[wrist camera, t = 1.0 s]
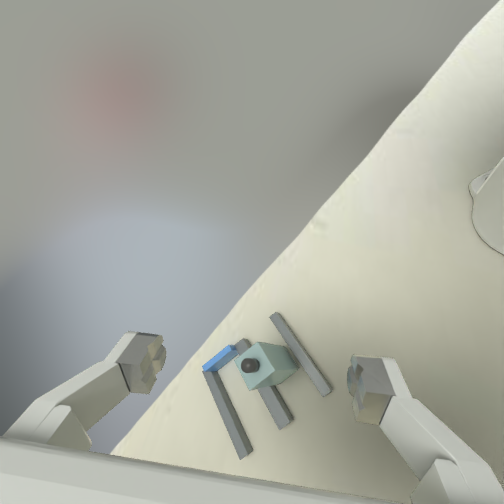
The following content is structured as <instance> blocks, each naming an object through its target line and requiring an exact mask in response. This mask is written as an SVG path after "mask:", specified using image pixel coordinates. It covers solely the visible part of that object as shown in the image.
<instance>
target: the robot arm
mask: <svg viewBox="0 0 504 504" xmlns="http://www.w3.org/2000/svg"><path fill="white" fill-rule="evenodd" d="M469 191H470V193H471V195H472V198H473V200H474V205H473V210H472V220H473V224H474V227H475V229H476V231H477V233H478V234H479V236H480V237H481V238H482V239H483V240H484V241H485V242H486V243H487V244H488V245H489V246H491V247H492V248H493V249H495V250H496V251H498V252H500V253H501V254H503V255H504V157H503V158H502V159H501V160H500V161H499V163H498V164H497V165H496V167H495V168H493V169H491V170H489V171H488V172H486V173H484V174H482V175H480V176H478V177H477V178H475V179H474V180H473V181H472V182H471V183H470V184H469ZM162 343H163V337H162V336H161V335H156V334H148V333H140V332H131V331H128V332H126V333H125V334H124V335H123V337H122V338H121V339H120V340H119V342H118V343H117V344H116V346H115V347H114V348H113V350H112V351H111V352H110V353H109V355H108V356H107V357H106V359H105V360H104V361H103V362H101V361H100V362H98V363H96V364H95V365H93V366H91V367H90V368H88V369H86V370H85V371H83V372H81V373H80V374H78V375H76V376H75V377H73V378H71V379H70V380H68V381H66V382H65V383H63V384H61V385H59V386H58V387H56V388H54V389H53V390H51V391H49V392H48V393H46V394H44V395H43V396H41V397H39V398H38V399H36V400H35V401H34V402H33V403H32V404H31V405H30V406H29V408H28V409H27V410H26V411H25V412H24V413H23V414H22V415H21V416H20V417H19V419H18V420H17V421H16V422H15V423H14V424H13V425H12V426H11V427H10V428H9V430H8V431H7V432H6V433H5V434H4V435H3V436H2V437H0V504H405V503H399V502H393V501H387V500H381V499H375V498H369V497H363V496H357V495H351V494H345V493H339V492H332V491H326V490H320V489H314V488H308V487H302V486H296V485H290V484H284V483H278V482H272V481H266V480H260V479H254V478H248V477H242V476H236V475H230V474H224V473H218V472H212V471H206V470H200V469H194V468H188V467H182V466H176V465H170V464H164V463H158V462H152V461H146V460H140V459H134V458H127V457H121V456H115V455H109V454H103V453H97V452H90V451H89V449H90V447H91V446H92V442H91V440H90V438H89V436H88V435H87V433H86V431H88V430H89V429H90V428H91V427H92V426H93V425H94V424H95V423H97V422H98V421H99V420H100V419H101V418H102V417H103V416H105V415H106V414H107V413H108V412H109V411H110V410H111V409H113V408H114V407H115V406H116V405H117V404H118V403H120V402H121V401H122V400H123V399H124V398H125V397H126V396H128V395H129V394H130V393H129V392H131V393H142V394H149V393H150V391H151V389H152V387H153V385H154V384H155V382H156V380H157V379H156V374H157V373H158V372H159V371H161V370H162V368H163V366H164V363H165V359H166V349H165V347H164V346H163V345H162ZM351 363H352V366H351V367H349V369H348V373H347V382H348V389H349V393H350V394H351V395H352V396H353V397H354V398H353V401H352V407H353V411H354V416H355V420H356V422H362V423H368V424H374V425H380V426H379V427H380V428H381V429H382V431H383V432H384V433H385V435H386V436H387V438H388V439H389V440H390V442H391V443H392V444H393V446H394V447H395V448H396V450H397V451H398V452H399V454H400V455H401V456H402V458H403V459H404V460H405V462H406V463H407V464H408V466H409V467H410V468H411V470H412V471H413V472H414V474H415V475H416V476H417V478H418V479H419V480H420V483H419V484H418V486H417V487H416V488H415V490H414V491H413V493H412V494H411V496H410V498H411V501H412V504H504V490H503V488H502V487H501V485H500V483H499V481H498V480H497V478H496V476H495V474H494V473H493V471H492V469H491V468H490V466H489V465H488V464H487V463H486V462H485V461H484V460H483V459H482V458H481V457H480V456H479V455H478V454H476V453H475V452H474V451H473V450H472V449H471V448H470V447H469V446H468V445H467V444H466V443H464V442H463V441H462V440H461V439H460V438H459V437H458V436H457V435H456V434H455V433H454V432H453V431H451V430H450V429H449V428H448V427H447V426H446V425H445V424H444V423H443V422H442V421H441V420H439V419H438V418H437V417H436V416H435V415H434V414H433V413H432V412H431V411H430V410H429V409H428V408H426V407H425V406H424V405H423V404H422V403H421V402H420V401H419V400H418V399H414V398H412V395H411V393H410V391H409V389H408V387H407V384H406V382H405V380H404V378H403V376H402V373H401V371H400V369H399V367H398V365H397V362H396V360H395V359H394V358H388V357H379V356H369V355H357V354H353V355H352V358H351Z"/></svg>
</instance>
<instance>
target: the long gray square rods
mask: <svg viewBox="0 0 504 504" xmlns="http://www.w3.org/2000/svg"><path fill="white" fill-rule="evenodd" d="M269 318H270V319H271V321H272V322H273V324H274V325H275V326H276V328H277V329H278V331H279V332H280V334H281V335H282V337H283V338H284V340H285V341H286V343H287V344H288V346H289V347H290V349H291V350H292V352H293V353H294V355H295V356H296V358H297V359H298V361H299V362H300V364H301V365H302V367H303V368H304V370H305V371H306V373H307V374H308V376H309V377H310V379H311V380H312V382H313V383H314V385H315V386H316V388H317V389H318V391H319V392H320V394H321V395H322V397H324V396H326V395H327V394H328V393H329V392H331V391H332V390H333V389H332V387H331V386H330V385H329V383H328V382H327V380H326V379H325V377H324V376H323V375H322V373H321V372H320V370H319V369H318V368H317V366H316V365H315V363H314V362H313V360H312V359H311V358H310V356H309V355H308V353H307V352H306V350H305V349H304V348H303V346H302V345H301V343H300V342H299V341H298V339H297V338H296V336H295V335H294V333H293V332H292V331H291V329H290V328H289V326H288V325H287V324H286V322H285V321H284V319H283V318H282V316H281V315H280V314H279V313H277V312H275V313H274V314H272V315H271V316H270V317H269ZM250 347H252V346H251V344H250V343H249V341H248V339H242V340H240V341H239V342H238V343H237V344H235V345H228V346H227V347H225V348H224V349H223V350H222V351H220V352H219V353H218V354H217V355H216V356H214V357H213V358H212V359H211V360H209V361H208V362H207V363H206V364H204V365H203V366H202V367H203V371H202V372H203V374H204V377H205V379H206V381H207V384H208V386H209V388H210V391H211V393H212V395H213V398H214V400H215V402H216V405H217V407H218V409H219V412H220V414H221V417H222V419H223V421H224V424H225V426H226V428H227V431H228V433H229V435H230V438H231V440H232V442H233V445H234V447H235V449H236V452H237V454H238V456H239V459H240V460H241V459H242V458H244V457H245V456H246V455H248V454H249V453H250V452H252V451H253V448H252V446H251V444H250V442H249V440H248V438H247V435H246V433H245V431H244V429H243V427H242V425H241V422H240V420H239V418H238V416H237V414H236V412H235V409H234V407H233V405H232V403H231V401H230V399H229V396H228V394H227V392H226V390H225V388H224V386H223V383H222V381H221V379H220V377H219V375H218V372H217V371H218V370H219V369H220V368H221V367H223V366H224V365H225V364H226V363H228V362H229V361H230V360H231V359H233V358H234V357H235V356H236V355H238V354H239V355H242V354H243V353H244V352H245V351H247V350H248V349H249V348H250ZM258 391H259V393H260V395H261V397H262V399H263V400H264V402H265V404H266V406H267V408H268V410H269V412H270V413H271V415H272V417H273V419H274V421H275V423H276V425H277V427H278V428H279V430H281V429H282V428H283V427H285V426H286V425H287V424H289V423H290V422H291V421H293V420H294V419H293V417H292V415H291V414H290V412H289V410H288V408H287V407H286V405H285V403H284V402H283V400H282V398H281V396H280V395H279V393H278V391H277V389H276V388H275V386H274V385H272V386H268V387H263V388H259V389H258Z"/></svg>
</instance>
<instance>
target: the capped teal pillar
mask: <svg viewBox="0 0 504 504" xmlns="http://www.w3.org/2000/svg"><path fill="white" fill-rule="evenodd" d="M234 361H235V363H236V365H237V367H238V369H239V371H240V373H241V375H242V377H243V379H244V381H245V383H246V385H247V387H248V389H249V391H250V390H255V389H259V388H263V387H268V386H272V385H277V384H280V383H282V382H283V381H284V380H286V379H287V378H288V377H289V376H291V375H292V374H293V373H295V372H296V371H297V370H298V369H299V367H298V366H297V364H296V363H295V361H294V360H293V358H292V357H291V355H290V354H289V352H288V351H287V349H286V348H285V347H284V346H278V345H273V344H268V343H262V342H257V343H255V344H254V345H253V346H252V347H250V348H249V349H248V350H247V351H245V352H244V353H243V354H242V355H240V356H239V357H238V358H237V359H235V360H234Z"/></svg>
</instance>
